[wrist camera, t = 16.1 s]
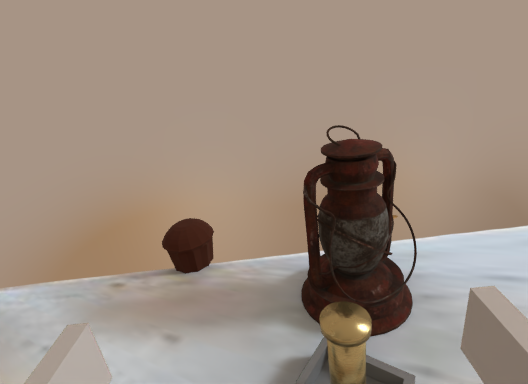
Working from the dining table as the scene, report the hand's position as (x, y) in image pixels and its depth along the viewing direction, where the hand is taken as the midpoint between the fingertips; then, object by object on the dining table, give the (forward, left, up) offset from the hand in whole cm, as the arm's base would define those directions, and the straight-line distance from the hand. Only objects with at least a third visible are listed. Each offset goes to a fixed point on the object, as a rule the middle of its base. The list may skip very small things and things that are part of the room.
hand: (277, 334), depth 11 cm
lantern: (-12, +37, -32) cm, 50 cm away
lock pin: (-5, +17, -31) cm, 35 cm away
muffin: (-48, +31, -32) cm, 66 cm away
